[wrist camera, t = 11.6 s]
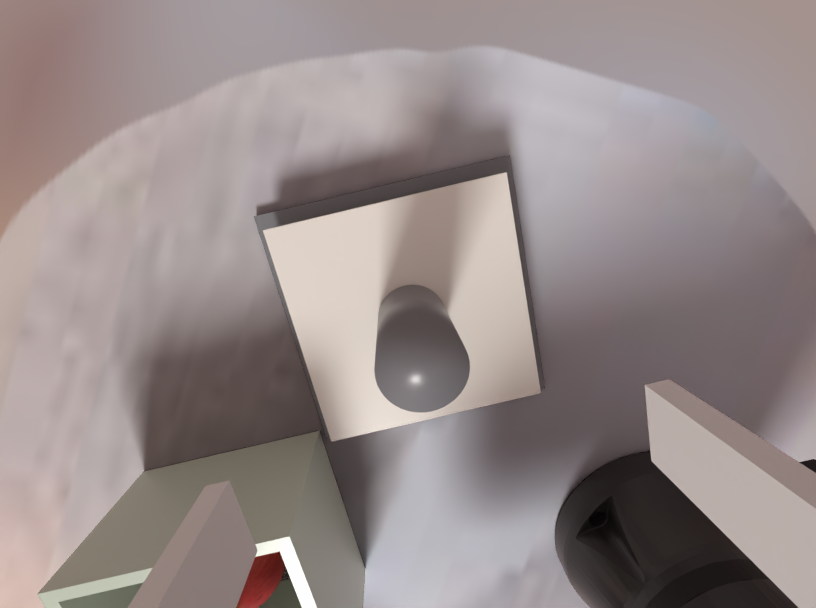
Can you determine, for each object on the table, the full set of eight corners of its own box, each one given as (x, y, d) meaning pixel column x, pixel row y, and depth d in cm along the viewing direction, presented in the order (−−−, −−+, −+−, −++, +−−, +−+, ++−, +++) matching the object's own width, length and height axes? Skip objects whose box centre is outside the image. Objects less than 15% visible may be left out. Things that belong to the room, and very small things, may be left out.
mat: (507, 155, 27) (509, 155, 26) (542, 385, 31) (544, 388, 31) (256, 215, 27) (253, 216, 26) (327, 434, 32) (326, 438, 31)
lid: (496, 173, 27) (562, 163, 17) (529, 378, 31) (598, 468, 21) (273, 227, 27) (205, 248, 17) (335, 423, 31) (310, 534, 21)
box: (319, 430, 31) (289, 536, 22) (365, 569, 35) (357, 711, 26) (143, 471, 32) (37, 594, 22) (208, 604, 35) (141, 759, 26)
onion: (272, 561, 34) (238, 668, 27) (210, 530, 33) (157, 632, 26) (310, 514, 33) (287, 611, 26) (248, 481, 32) (204, 571, 25)
